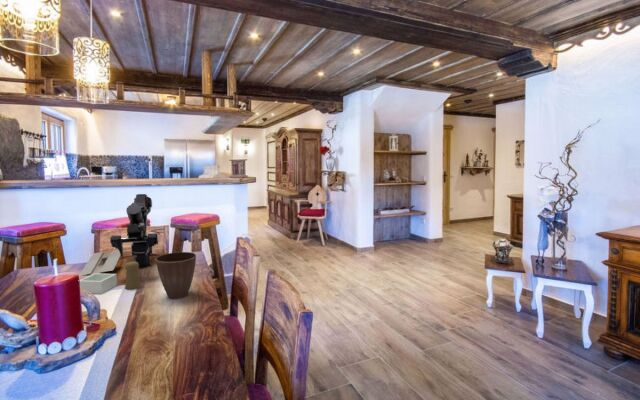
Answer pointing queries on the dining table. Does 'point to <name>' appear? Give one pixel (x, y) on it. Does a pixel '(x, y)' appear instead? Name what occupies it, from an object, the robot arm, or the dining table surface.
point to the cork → (132, 276)
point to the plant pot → (176, 273)
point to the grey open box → (98, 283)
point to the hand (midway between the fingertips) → (133, 256)
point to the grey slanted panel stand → (101, 262)
